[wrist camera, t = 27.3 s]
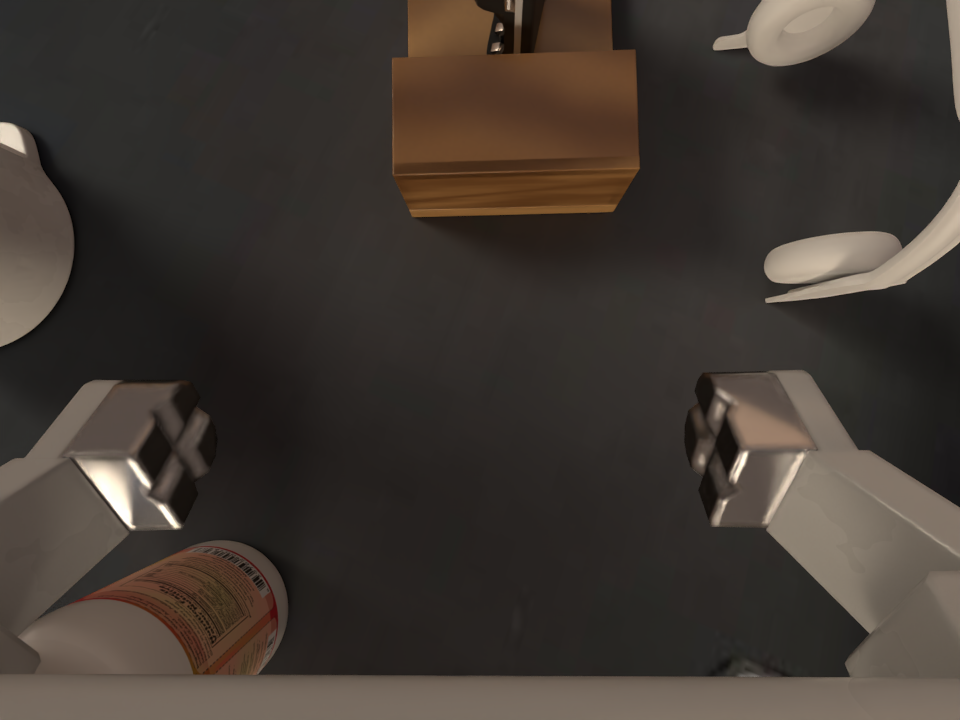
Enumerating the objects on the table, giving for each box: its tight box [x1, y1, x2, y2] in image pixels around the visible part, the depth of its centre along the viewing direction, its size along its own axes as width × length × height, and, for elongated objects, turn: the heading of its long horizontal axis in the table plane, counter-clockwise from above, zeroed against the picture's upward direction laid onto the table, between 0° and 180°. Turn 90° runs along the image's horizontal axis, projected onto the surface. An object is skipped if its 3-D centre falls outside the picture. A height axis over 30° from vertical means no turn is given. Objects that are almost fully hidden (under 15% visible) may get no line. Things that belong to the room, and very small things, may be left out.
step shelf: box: [392, 0, 640, 217], centre depth 36 cm, size 18×14×8 cm
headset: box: [713, 0, 960, 303], centre depth 30 cm, size 20×7×18 cm, turn 3°
